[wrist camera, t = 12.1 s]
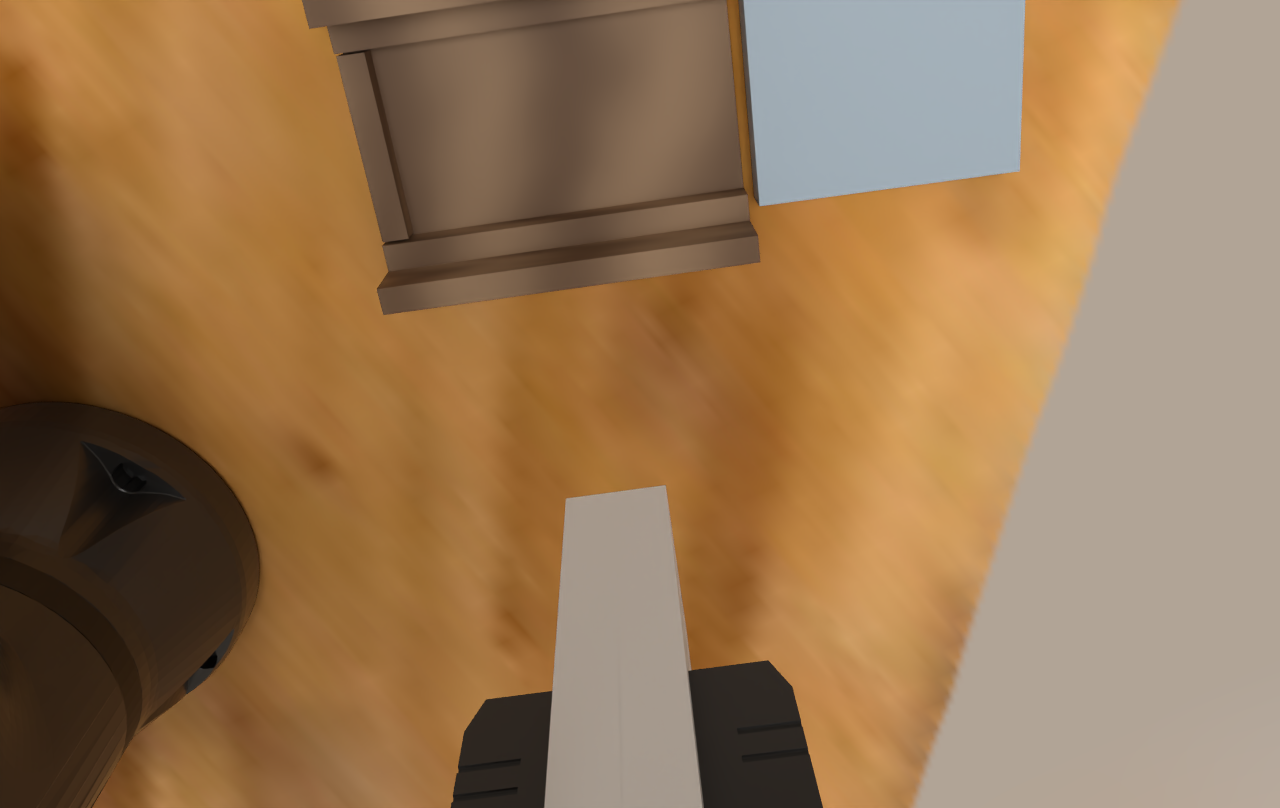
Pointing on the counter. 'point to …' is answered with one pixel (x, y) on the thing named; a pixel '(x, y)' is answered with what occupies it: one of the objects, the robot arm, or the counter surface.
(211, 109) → the counter surface
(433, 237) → the lid box
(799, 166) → the cover plate
